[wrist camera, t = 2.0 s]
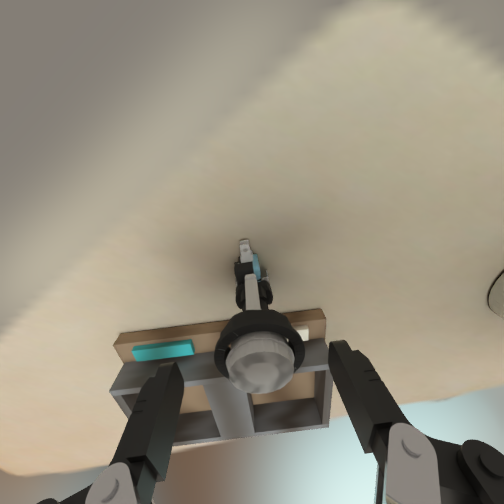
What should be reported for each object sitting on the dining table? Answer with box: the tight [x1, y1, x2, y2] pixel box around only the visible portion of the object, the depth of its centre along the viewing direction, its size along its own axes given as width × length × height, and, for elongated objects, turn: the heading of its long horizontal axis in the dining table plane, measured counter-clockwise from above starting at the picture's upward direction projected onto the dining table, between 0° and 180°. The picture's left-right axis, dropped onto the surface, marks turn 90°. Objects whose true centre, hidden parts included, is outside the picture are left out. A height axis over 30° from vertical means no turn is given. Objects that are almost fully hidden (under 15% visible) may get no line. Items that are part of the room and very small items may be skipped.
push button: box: [214, 240, 305, 394], centre depth 15 cm, size 7×5×10 cm
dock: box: [109, 309, 333, 446], centre depth 24 cm, size 22×15×4 cm
